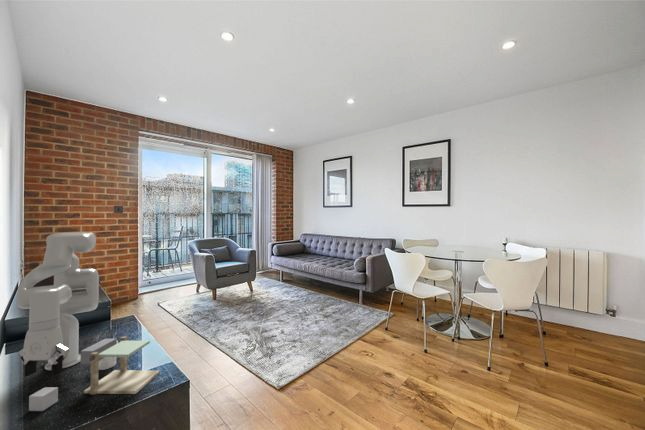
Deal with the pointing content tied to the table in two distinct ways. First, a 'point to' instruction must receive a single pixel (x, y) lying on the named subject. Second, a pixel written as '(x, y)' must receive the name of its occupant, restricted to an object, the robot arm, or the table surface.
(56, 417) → the table surface
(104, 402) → the table surface
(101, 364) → the white cup
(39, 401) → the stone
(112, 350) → the trapdoor
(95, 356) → the frame
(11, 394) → the table surface
